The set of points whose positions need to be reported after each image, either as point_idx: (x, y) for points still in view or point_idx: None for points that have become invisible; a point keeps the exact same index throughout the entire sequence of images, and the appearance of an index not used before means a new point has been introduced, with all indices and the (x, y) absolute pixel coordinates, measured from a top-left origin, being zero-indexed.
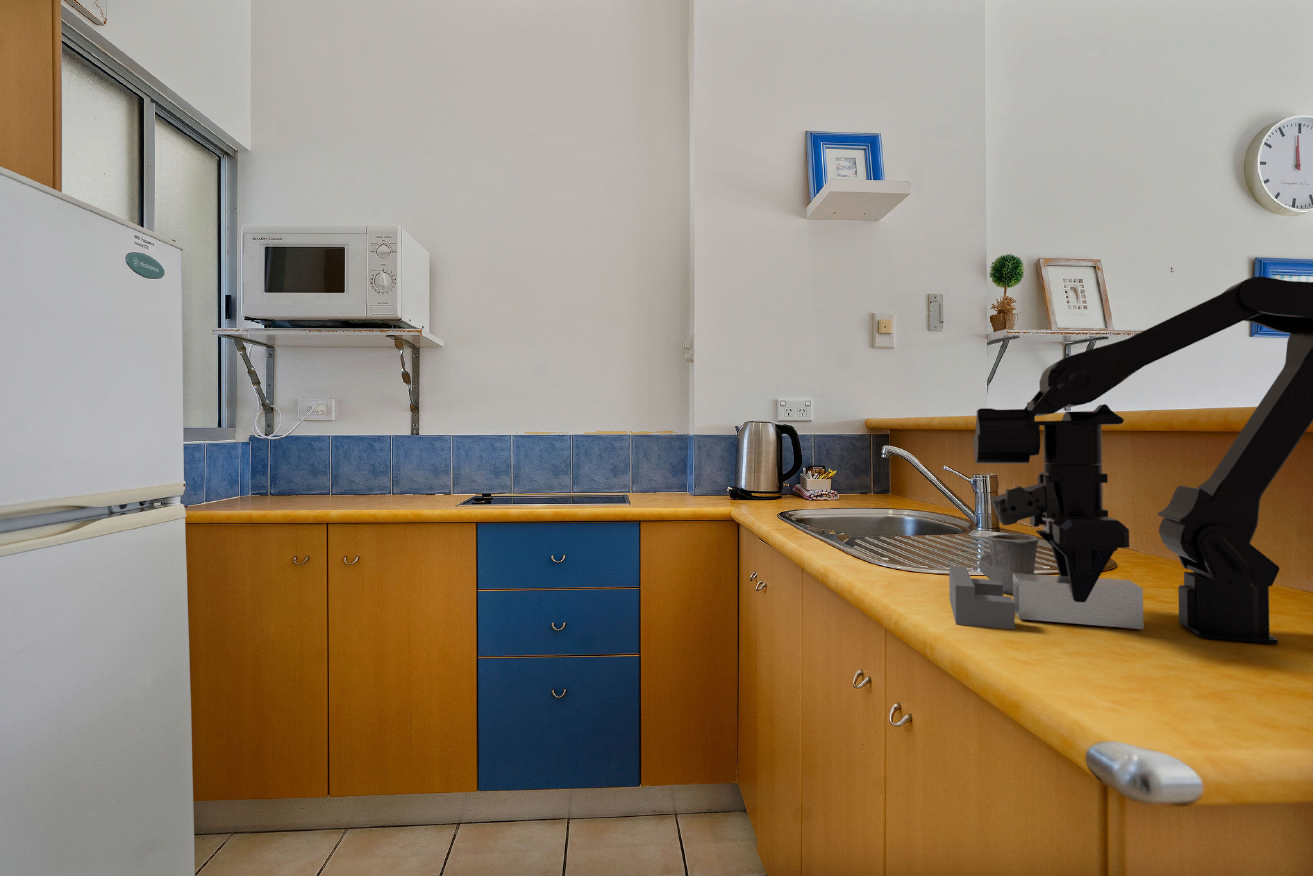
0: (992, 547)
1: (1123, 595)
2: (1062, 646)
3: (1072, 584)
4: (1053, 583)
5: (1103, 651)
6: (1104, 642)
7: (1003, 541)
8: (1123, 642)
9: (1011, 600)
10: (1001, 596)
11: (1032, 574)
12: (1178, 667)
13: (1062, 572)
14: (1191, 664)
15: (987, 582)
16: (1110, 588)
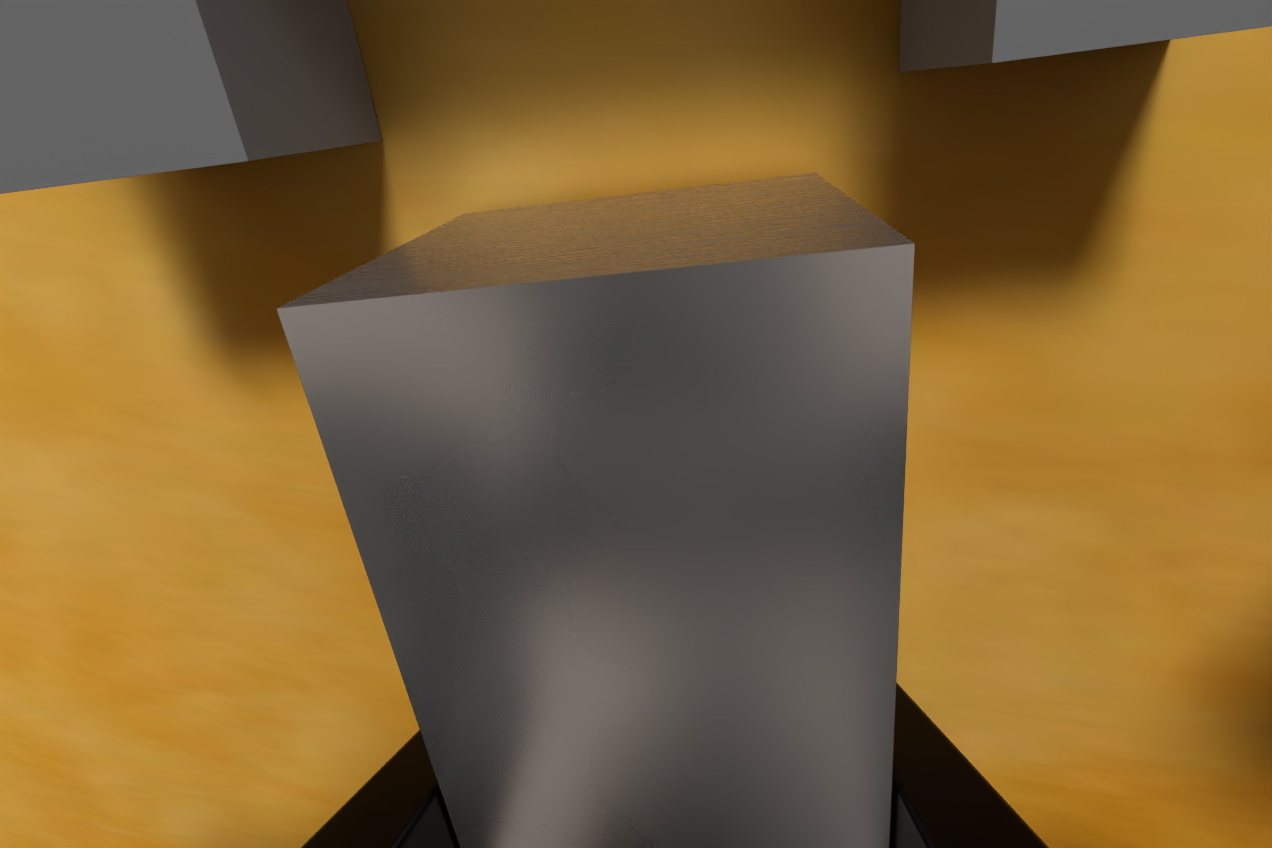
0: None
1: None
2: (8, 432)
3: (353, 805)
4: (405, 664)
5: (81, 599)
6: (264, 630)
7: None
8: (328, 702)
9: (65, 166)
10: (184, 45)
11: (889, 517)
12: (71, 790)
13: (914, 841)
14: (153, 832)
15: None
16: None
